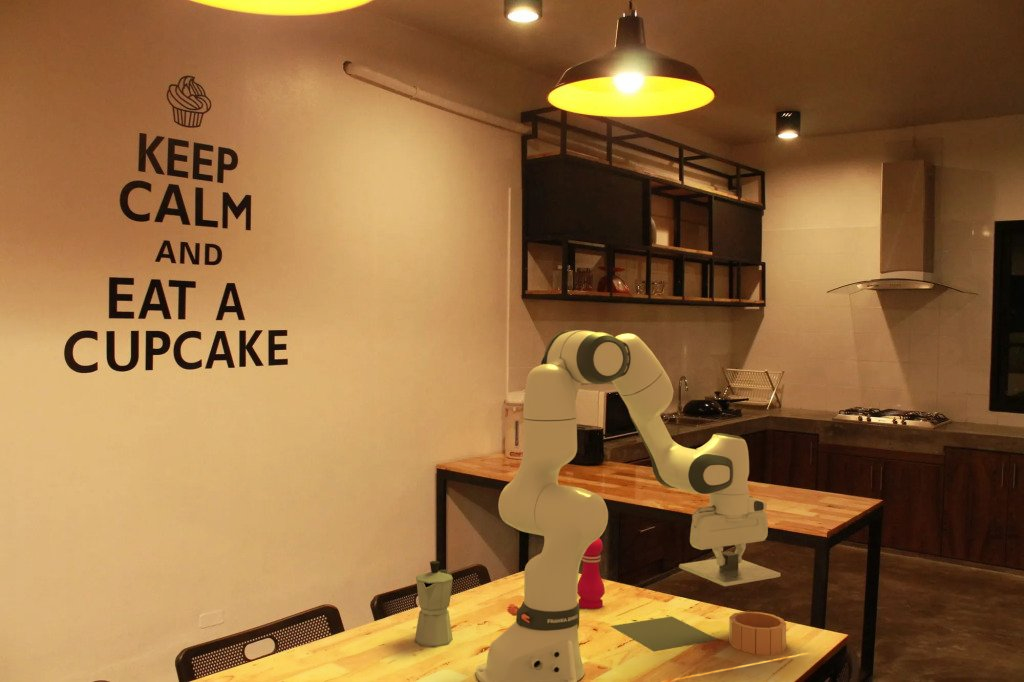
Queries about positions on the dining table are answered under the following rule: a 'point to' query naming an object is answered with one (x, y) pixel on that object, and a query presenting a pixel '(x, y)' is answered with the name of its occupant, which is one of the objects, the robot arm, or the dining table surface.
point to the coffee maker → (434, 607)
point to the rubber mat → (663, 633)
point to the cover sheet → (729, 570)
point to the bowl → (757, 633)
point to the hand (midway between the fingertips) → (729, 563)
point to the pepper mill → (591, 578)
